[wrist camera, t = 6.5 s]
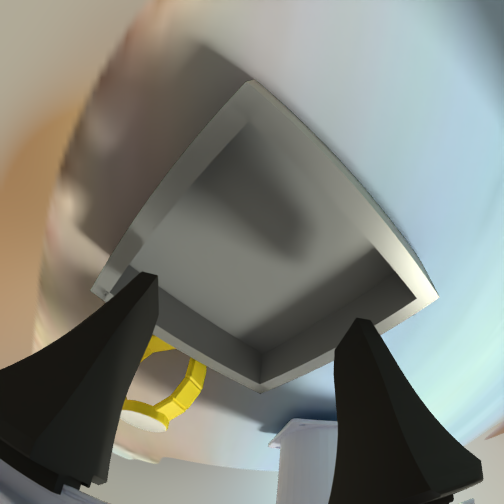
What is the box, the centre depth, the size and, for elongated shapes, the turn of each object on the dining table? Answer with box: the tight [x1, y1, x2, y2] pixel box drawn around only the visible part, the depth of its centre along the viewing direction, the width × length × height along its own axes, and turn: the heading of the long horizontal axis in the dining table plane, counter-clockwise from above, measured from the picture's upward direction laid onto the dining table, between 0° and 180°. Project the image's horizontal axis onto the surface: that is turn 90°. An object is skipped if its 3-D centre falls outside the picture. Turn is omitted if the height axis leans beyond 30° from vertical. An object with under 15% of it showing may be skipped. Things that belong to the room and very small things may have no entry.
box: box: [90, 80, 439, 394], centre depth 12 cm, size 11×11×2 cm
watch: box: [120, 335, 207, 432], centre depth 15 cm, size 6×3×6 cm, turn 110°
